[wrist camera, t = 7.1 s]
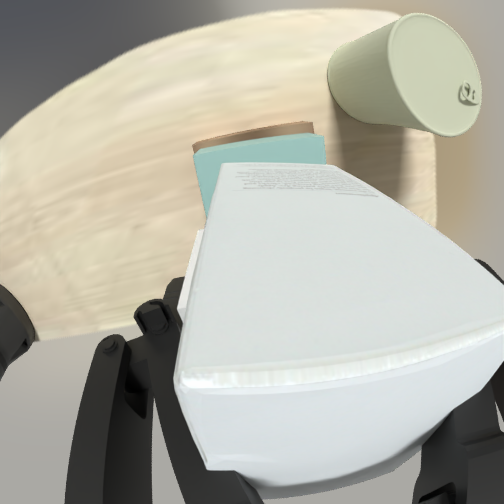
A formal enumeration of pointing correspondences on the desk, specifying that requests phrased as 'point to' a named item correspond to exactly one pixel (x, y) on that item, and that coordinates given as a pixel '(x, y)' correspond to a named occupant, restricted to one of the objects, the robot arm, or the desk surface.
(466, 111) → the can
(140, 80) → the desk surface
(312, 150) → the top slab
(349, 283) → the small box
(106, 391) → the robot arm
